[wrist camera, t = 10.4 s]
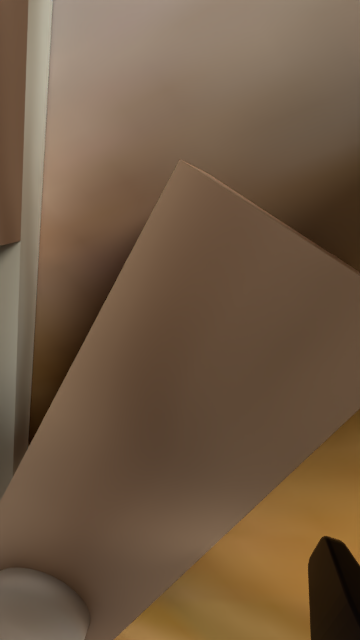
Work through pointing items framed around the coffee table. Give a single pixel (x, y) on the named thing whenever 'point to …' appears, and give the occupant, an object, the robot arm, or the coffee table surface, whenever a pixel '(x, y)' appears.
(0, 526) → the long tan block
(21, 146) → the jig
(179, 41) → the coffee table surface
